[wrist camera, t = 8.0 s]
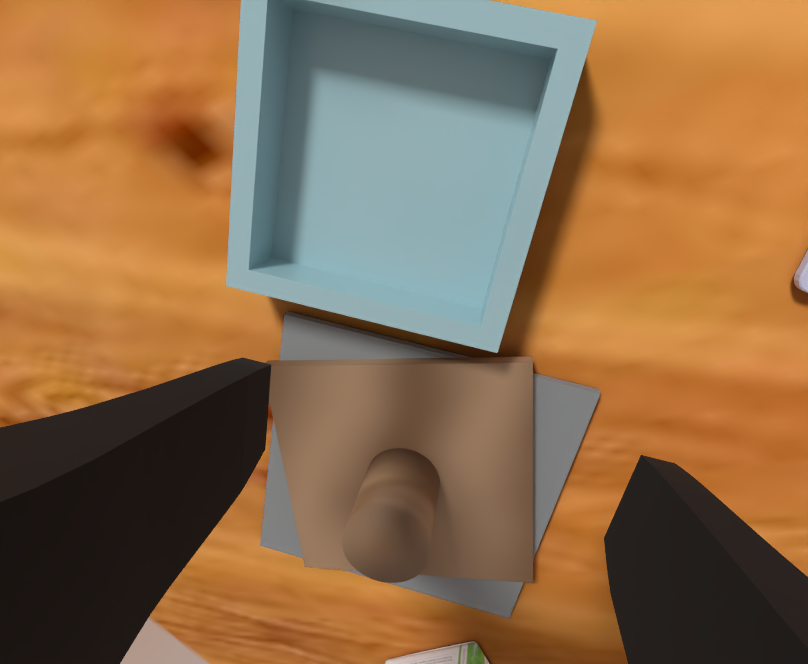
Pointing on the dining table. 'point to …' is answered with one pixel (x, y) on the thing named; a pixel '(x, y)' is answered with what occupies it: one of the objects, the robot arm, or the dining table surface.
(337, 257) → the dish
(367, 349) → the mat
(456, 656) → the syrup box
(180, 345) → the dining table surface
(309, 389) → the lid
